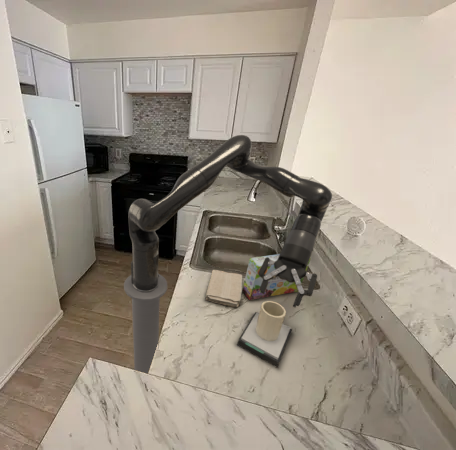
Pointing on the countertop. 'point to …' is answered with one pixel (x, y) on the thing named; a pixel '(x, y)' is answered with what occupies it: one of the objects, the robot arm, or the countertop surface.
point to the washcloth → (225, 288)
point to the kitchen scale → (264, 342)
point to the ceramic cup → (270, 320)
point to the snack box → (274, 285)
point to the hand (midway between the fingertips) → (277, 299)
